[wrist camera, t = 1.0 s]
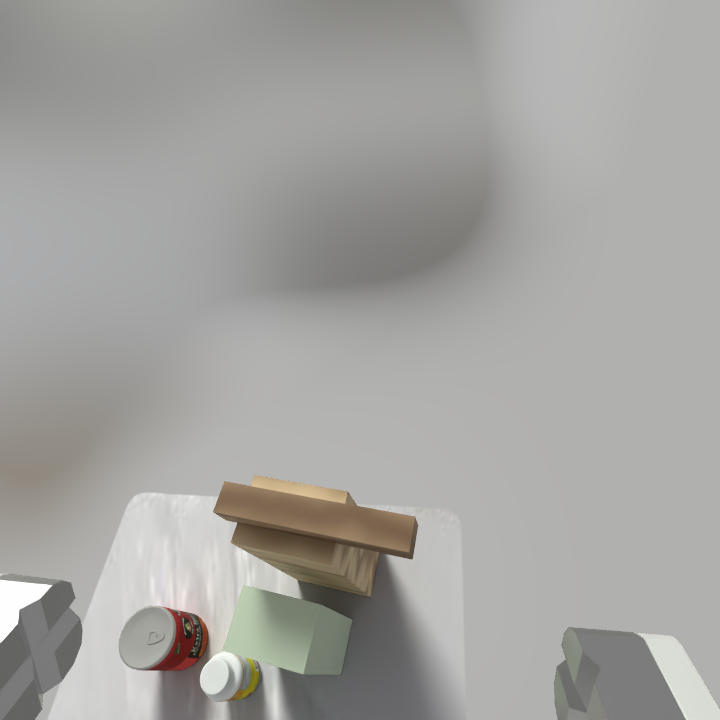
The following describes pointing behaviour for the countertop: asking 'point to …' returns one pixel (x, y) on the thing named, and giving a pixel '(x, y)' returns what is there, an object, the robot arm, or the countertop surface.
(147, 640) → the canned food
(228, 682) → the supplement bottle
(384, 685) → the countertop surface
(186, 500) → the countertop surface
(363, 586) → the stand
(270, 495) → the batten
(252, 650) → the block
